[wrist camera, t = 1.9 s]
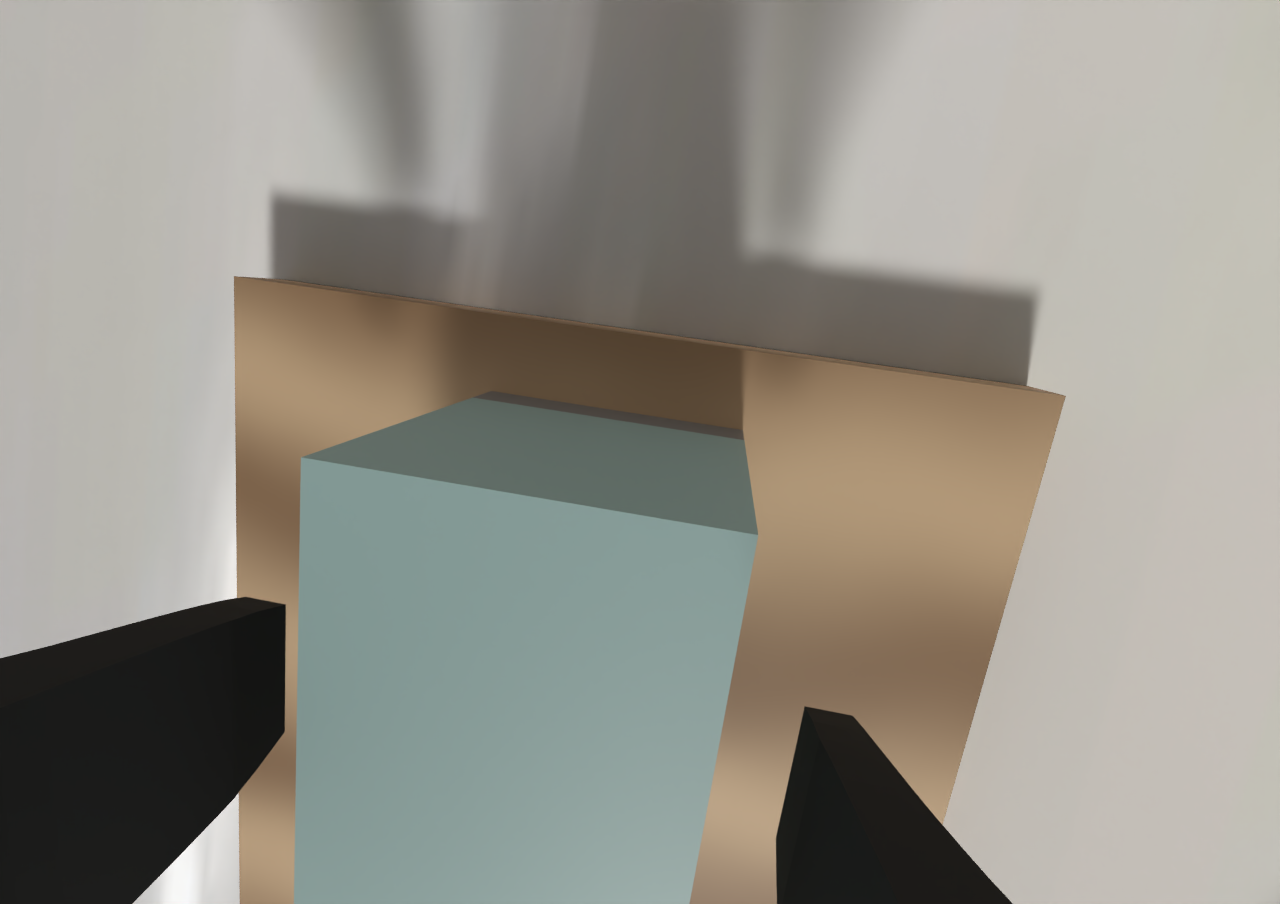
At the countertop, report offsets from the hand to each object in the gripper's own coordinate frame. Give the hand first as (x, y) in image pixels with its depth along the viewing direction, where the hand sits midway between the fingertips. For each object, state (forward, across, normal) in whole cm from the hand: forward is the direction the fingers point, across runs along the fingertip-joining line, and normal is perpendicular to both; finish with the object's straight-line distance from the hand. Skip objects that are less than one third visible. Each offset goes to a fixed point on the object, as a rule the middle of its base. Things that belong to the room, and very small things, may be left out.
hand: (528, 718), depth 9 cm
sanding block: (+5, 0, 0) cm, 5 cm away
